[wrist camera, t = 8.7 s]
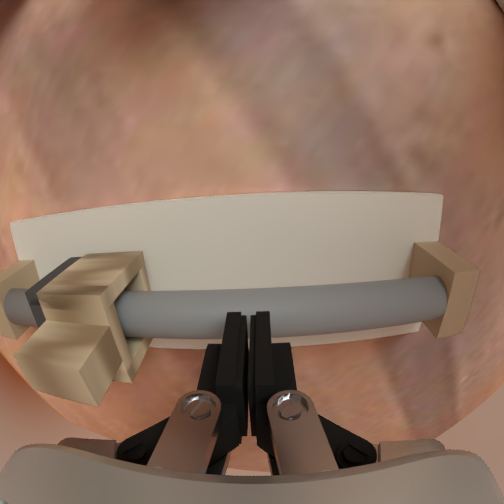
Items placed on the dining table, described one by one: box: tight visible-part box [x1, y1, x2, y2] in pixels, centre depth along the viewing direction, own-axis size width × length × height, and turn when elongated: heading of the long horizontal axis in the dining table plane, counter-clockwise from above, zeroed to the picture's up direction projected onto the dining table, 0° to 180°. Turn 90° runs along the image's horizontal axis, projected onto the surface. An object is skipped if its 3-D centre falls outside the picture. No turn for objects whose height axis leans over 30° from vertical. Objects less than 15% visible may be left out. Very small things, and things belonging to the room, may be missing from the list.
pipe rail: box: [0, 191, 480, 349], centre depth 15 cm, size 30×10×5 cm, turn 93°
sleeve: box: [14, 251, 153, 407], centre depth 12 cm, size 4×5×8 cm
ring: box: [25, 257, 81, 328], centre depth 14 cm, size 1×5×5 cm, turn 3°
